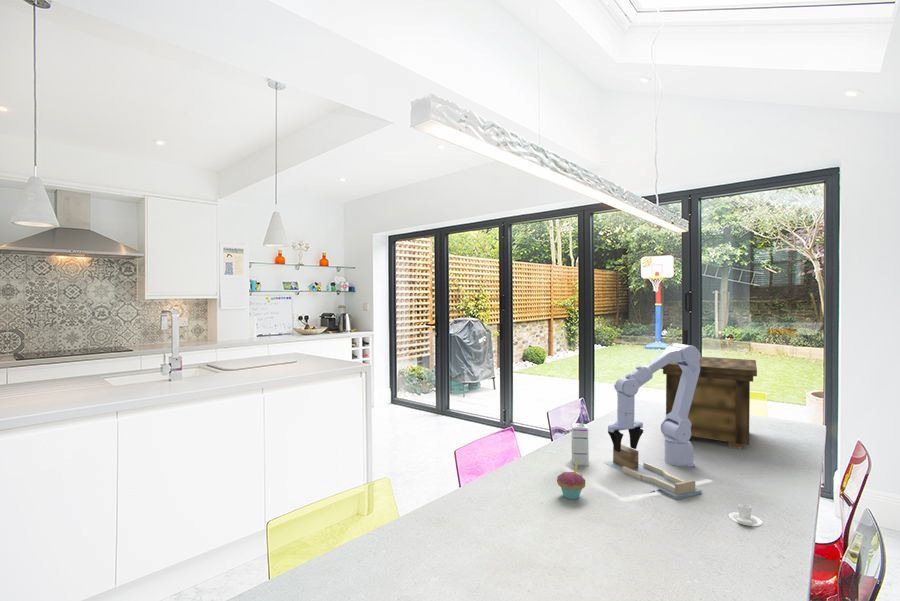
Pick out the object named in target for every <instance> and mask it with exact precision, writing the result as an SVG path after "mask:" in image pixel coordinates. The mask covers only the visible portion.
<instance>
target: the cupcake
mask: <svg viewBox="0 0 900 601" xmlns="http://www.w3.org/2000/svg"><path fill="white" fill-rule="evenodd" d="M578 466H579V465H578V459H577V460H576V464H575V466H574V471H570V472H569V471H568V472H567V471H564V472H562V473H559V475H558V476H557V478H556V482H557V484H558V486H559V487H560V489H561V491H562V496H563V497H564V498H567V499H569V500H576V499H580V495H581V493H582V489H584V488H585V487H586V479H585V478H584V477H583V475H581V474H579V473H578V471H577V470H578Z"/></svg>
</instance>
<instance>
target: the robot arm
mask: <svg viewBox="0 0 900 601" xmlns="http://www.w3.org/2000/svg"><path fill="white" fill-rule="evenodd" d="M701 355H702V353H701V352H700V351H699V349H698V348H697V347H696V346H694V345H692V344H691V345H688V344H682V343H679V342H673V343H671V344H670V345H669V346H667V347H665V349H664V351H663V352H662V353H660V354H659V355H658V356H656V357H655V358H654V359H653V360H651V362H649V363H647V365H637V366H635V369H634V370H632V371H631V372H630V373H627V374H626V375H625V376H623V377H619V378H618V379H617V380H616V382H615V384H614V385H613V387H614V390H615V391H616V393H617V395H616V396H617V398H616V399H617V400H616V401H617V407H616V408H617V410H616V411H617V418H616V421H615V423H612V424H609V425H607V434H608V435H609V438H611V441H612V447H613V446H614V450H615V451H617V452H620V450H621V444H622V440H623V436H624V433H621V431H625V430H626V431H627V430H628V433H629V434H628V435H629V444H630V445H629V446H630V447H629V448H632V449H634V450H637V448H638V444H639V440H641V439H640V438H641V437H642V434H643V433H644V429H643V428H644V424H643V423H644V422H642V421H638V420H637V421H635V395H636V394H638V392H639V389H640V388H641V387H642V386H643V385H645V384H646V383H647V382H648V381H650V380H651V379H653V376H654V373H656V372H657V371H659V370H662V369H661V368H662V367H664V366H666V365H667V364H669V363H670V362H676V363H677V364H678V365H679V366H680V368H681V369H682V375H681V378H680V382H679V386H678V389H677V393H676V397H675V400H674V404H673V408H672V411H671V412H670V413H669V414H667V415H666V414H665V418H664V420H663V421H662V422H661V424H660V432H661V434H663V439H664V462H665V463H666V464H667V465H668V464H669V465H670V466H678V467H682V466H687V467H690V468H691V467H696V464H695V463H694V448H693V444H692V442H691V441H690V439H691V438H692V436H691V425H692V424H691V422H690V420H689V418H688V414H689V410H690V406H691V403H692V399H693V395H694V392H695V388H696V384H697V380H698V377H699V373H700V363H699V360H700V357H702V356H701ZM677 422H678V423H677Z"/></svg>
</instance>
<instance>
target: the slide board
mask: <svg viewBox="0 0 900 601" xmlns="http://www.w3.org/2000/svg"><path fill="white" fill-rule="evenodd" d="M604 464H605V465H607V466H609V467H612V468H614V469H615V470H618V471H620V472H622V473H624V474H627V475H629V476H631V477H633V478H635V479H637V480H639V481H641V482H644V483H646V484H648V485H650V486H653V487H655V488H657V489H656V491H657V492H658V493H661V494H663V495H664V496H667V497H669V498H672V499H674V500H675V501H677V500H680V499H685V498H689V497H693V496H697V495H701V494H702V489H699V488H698V487H696V479H687V480H684V479H681V478H679V477H677V476H675V475H672V474H669V473H668V472H667V471H666V470H665V469H663V468H660V467H658V466H656V465H654V464H651V463H648V462H645V461H644V462H643V463H642V464H640V463H638V468H636V469H630V468H627V467H625V466H623V467H622V466H620V465H618V464H616V463H614V462H613V460H611V461H606V462H605V461H604Z"/></svg>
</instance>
